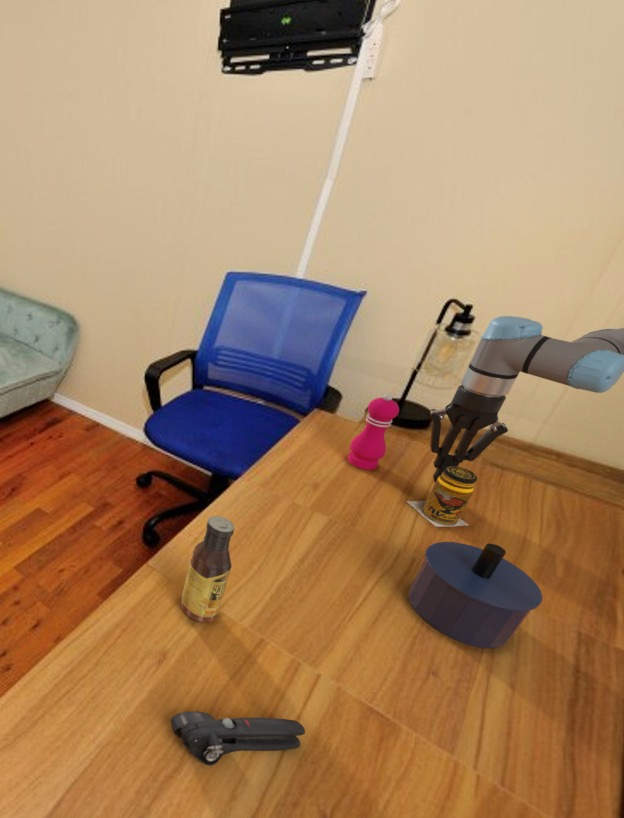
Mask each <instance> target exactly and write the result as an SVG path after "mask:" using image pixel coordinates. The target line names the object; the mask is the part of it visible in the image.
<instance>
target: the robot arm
mask: <svg viewBox="0 0 624 818" xmlns="http://www.w3.org/2000/svg"><path fill="white" fill-rule="evenodd" d="M543 328H544V327H543V324H542V323H540V322H539V321H536V320H532V319H529V318H527V317H520V316H514V315H513V316H512V315H502V316H497V317H494V318H493V319H492V320H490V322H489V323H488V325H487V327H486V329H485V331H484V333H483V335H481V336H480V340H479V342H478V345H477V347H476V349H475V352H474V354H473V356H472V358H471V360H470V362H469V364H468V366H467V369H466V371H465V373H464V374H463V377H462V379H461V380H460V385H458V387H457V389H456V390H455V393H454V396H453V397H452V400H451V402H450V403H448V404H447V405H445V407H444V408H442V409H441V408H440V409H435V408H432V409H430V410H429V413H430V418H431V420H432V423H431V433H430V442H429V443H430V444H429V446H430V451H431V453H433V454H436V457H435V459H434V461H433V467H434V468H435V469H436V470H435V471H434V473H433V476H432V478H433V482H434V483H435V482H436V480H437V478H438V477H439V476H441V474H442V473H443V472H444V469H445V468H446V467H448V466H457V467H459V465H460V464H461V463H463V462H464V461H468V462H474V461H475V460H476V459H477V458H478V457H479V456H480V455H481V454H482V453H484V451H485V450H487V448H488V447H489V446H490V445H491V444H492V443H493V442H494V441H495V440H496V439H497V438H498V437H500V436H502V435H504V434H506V433H508V432H509V429H508V427H507V425H506V423H504V422H501V421H500V420H499V413H500V410H501V408H502V406H503V405H504V403H505V401H506V399H507V397H506V396H508V395H509V394H510V391H511V389H512V387H513V385H514V384H515V382H516V380H517V378H518V376H519V374H520V373H523V374H527V375H530V376H534V377H538V378H541V379H544V380H548V381H551V382H555V383H558V384H561V385H565V386H568V387H571V388H573V389H577V390H582V391H588V392H591V393H597V394H601V393H605V392H608V391H610V389H612V387H613V386H615V385H616V384H617V382H618V381H619V380H620V379H621V377H622V375H623V374H624V327H621V328H604V329H603V328H602V329H597V330H594V331H590V332H588V333H586V334H583V335H582V336H581V337H579V338H576V339H574V340H572V341H567V340H563V339H558V338H554V337H551V336H547V335H543V332H542V331H543ZM445 416H447V418H448V420H449V422H450V425H449V429H448V430H447V433H446V434H445V436H444V439H443V440H442V443H441V445H440V439H441V430H442V429H441V428H442V422H441V421H442V420H444V419H445ZM487 427H489V428H488V429H487V430H486V431H485V432H484V433H483V434H482V435H481V436H480V437H479V438H478V439H477V440H476V441H475V442H474V443H473V445H471V443H472V442H473V440H474V438H475V437H476V436H477V434H478V432H479V431H480V430H482V429H485V428H487ZM462 430H464V432H463V434H462V435H461V438H460V439H459V442H458V443H457V446H456V448H455V450H454V452H453V454H450V451H451V450H452V448H453V446H454V444H455V442H456V440H457V437H458V435H459V434H460V433H461V432H462Z"/></svg>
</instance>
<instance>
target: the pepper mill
mask: <svg viewBox="0 0 624 818" xmlns="http://www.w3.org/2000/svg"><path fill="white" fill-rule="evenodd" d="M367 411H368V413H367V414H366V418H365V421H366V425H365V426H364V428H363V430H362V431H361V432H360V433H359V434H357V435H356V436H355V437H354V438H353V439H352V441H351V442H350V444H349V449H350V452H349V453H348V456H347V461H348V462H349V464H351V465H352V466H354V467H356V468H357V469H361V470H367V471H373V470H375V469H377V467H378V465H379V463H380V459H383V458H384V456H385V455H386V451H387V445H386V440H385V433H386V430H387V428H389V427H391V426H392V423H393V419H395V418H396V417H398V415H399V413H400V407H399V404H398V403H397V402H396V401H395V400H393V395H392V394H391V393H385V394H384V395H383V397H376V398H374V399H372V400H371V401H370V402H369V403H368V405H367Z"/></svg>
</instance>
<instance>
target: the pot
mask: <svg viewBox="0 0 624 818" xmlns="http://www.w3.org/2000/svg"><path fill="white" fill-rule="evenodd" d="M407 594H408V601H409V603H410V605H411V607H412V609H413V610H414V612H415V613H416V614H417V615H418V616H419V617H420V618H421V619H422V620H423V621H424V622H426V623H427V624H428V625H429V626H431V627H432V628H433V629H435V630H436V631H438V632H439V633H441V634H443V635H444V636H446V637H448V638H450V639H451V640H455V641H457V642H459V643H462V644H464V645H468V646H470V647H475V648H478V649H479V648H480V649H499V648H502V647H504V646H506V645H507V643H508V642H510V640H511V639H513V636H514V635H515V633H516V632H517V631H518V630H519V628H520V627H521V625H522V624H523V622H524V621H525V619H526V618H527V616H528V615H529V614H530V613H531V611H532V610H530V611H522V612H518V611H508V610H503V609H498V608H495V607H491V606H488V605H486V604H483V603H480V602H478V601H475V600H473V599H471V598H469V597H467V596H465V595H463V594H461V593H459V592H458V591H456V590H455V589H453V588H451V587H450V586H449V585H447V584H446V583H444V582H443V581H442V580H441V579H440V578H439V577H437V576H436V575H435V574H434V572H433V571H432V570H431V569H430V567H429V566H428V564H427V562H426V559H425V558H424V560H423V562H422V563H421V566H420V567H419V569H418V571H417V573H416V575H415V577H414V579H413V581H412V583H411V584H410V587H409V590H408V593H407Z"/></svg>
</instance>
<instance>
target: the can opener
mask: <svg viewBox="0 0 624 818" xmlns="http://www.w3.org/2000/svg"><path fill="white" fill-rule="evenodd" d="M170 724H171V729H172V730H173V734H174V735H175V736H176V737H178V738H180V739H181V741H182V744H183V745H184V747H185V749H187V751H189V752H190V754H191V755H192V756H193V757H194V758H195V759H197V760H198V761H199V762H200V763H202V764H203V765H206V766H214V765H216V764H217V763H218V762H219V761H220V760H221V759H222V757H223V756H224V755H227V754H230V753H235V752H245V751H246V752H249V751H250V752H277V751H279V752H280V751H289V750H294V749H298V748H299V747H301V741H300V738H299V737H297V736H303V735H305V734H306V729H305V726H303V724H301V723H300V722H299V721H297V720H294V719H286V718H278V717H277V718H276V717H230V718H229V717H227V718H219V719H216V718H214V716H213V715H211V714H210V713H207V712H203V711H184V712H178V713H176V714H173V716H171V717H170Z"/></svg>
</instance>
